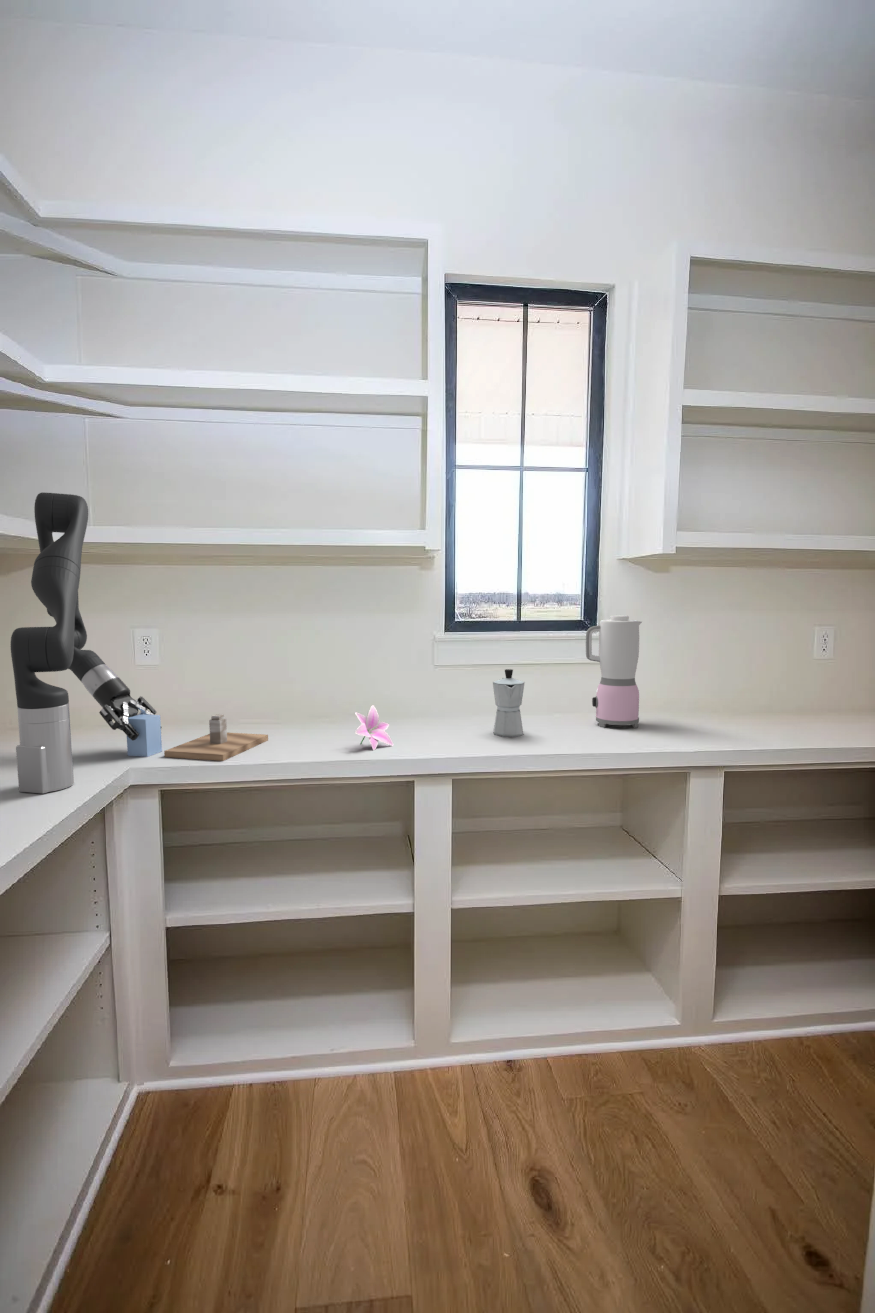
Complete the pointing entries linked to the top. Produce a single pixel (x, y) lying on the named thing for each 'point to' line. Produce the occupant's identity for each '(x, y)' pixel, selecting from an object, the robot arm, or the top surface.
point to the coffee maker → (508, 706)
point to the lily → (373, 728)
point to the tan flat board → (216, 743)
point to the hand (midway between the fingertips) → (147, 734)
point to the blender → (616, 671)
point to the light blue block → (145, 735)
